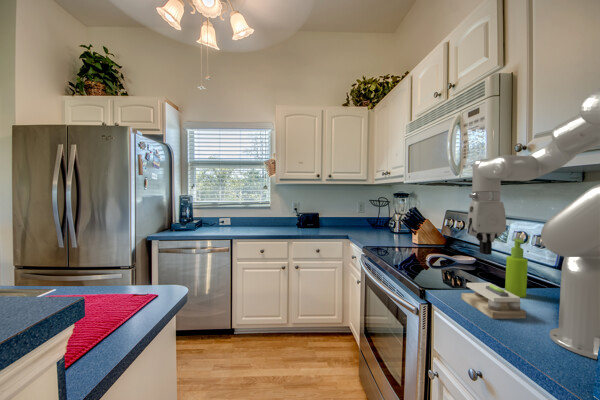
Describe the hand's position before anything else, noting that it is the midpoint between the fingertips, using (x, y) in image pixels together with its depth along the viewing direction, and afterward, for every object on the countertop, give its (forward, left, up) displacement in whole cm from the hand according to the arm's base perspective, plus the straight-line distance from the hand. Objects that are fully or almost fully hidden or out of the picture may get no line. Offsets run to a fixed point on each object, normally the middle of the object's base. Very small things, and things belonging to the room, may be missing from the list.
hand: (485, 253), depth 88 cm
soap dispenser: (+7, -17, -17) cm, 25 cm away
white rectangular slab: (-3, 0, -12) cm, 12 cm away
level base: (-3, 0, -16) cm, 17 cm away
